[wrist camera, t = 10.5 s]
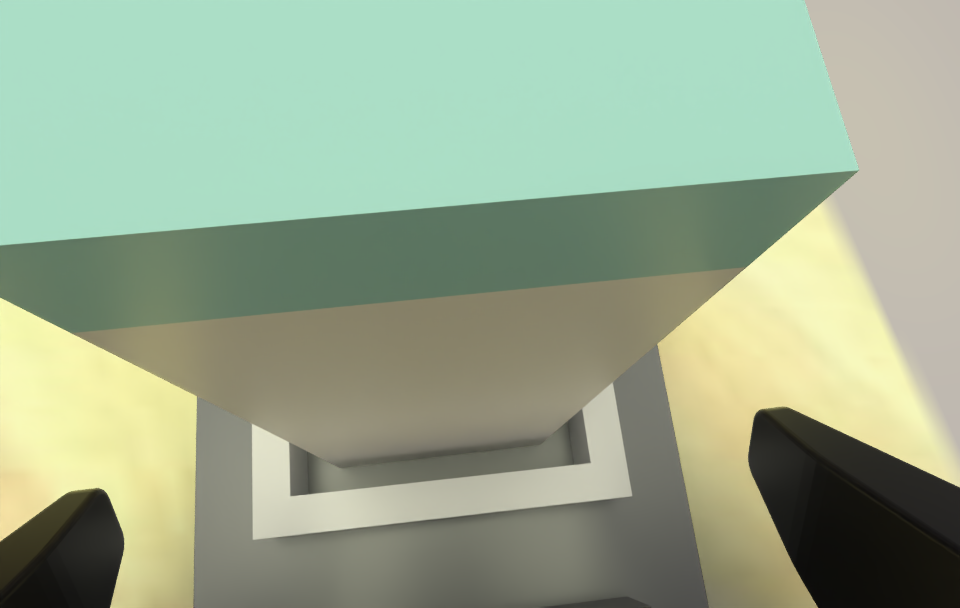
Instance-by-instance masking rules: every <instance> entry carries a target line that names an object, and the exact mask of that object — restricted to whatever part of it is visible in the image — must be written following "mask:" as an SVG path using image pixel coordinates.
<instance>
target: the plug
mask: <svg viewBox="0 0 960 608" xmlns="http://www.w3.org/2000/svg"><path fill="white" fill-rule="evenodd" d="M858 171H859V169H858V165H857V162H856V159H855V156H854V153H853V149H852V147H851V143H850V140H849V137H848V134H847V131H846V128H845V125H844V122H843V119H842V116H841V113H840V109H839V106H838V103H837V100H836V97H835V94H834V91H833V88H832V85H831V81H830V79H829V76H828V72H827V69H826V66H825V63H824V60H823V57H822V54H821V51H820V47H819V45H818V41H817V38H816V35H815V32H814V29H813V26H812V23H811V20H810V17H809V14H808V11H807V7H806V4H805V1H804V0H0V298H2V299H4V300H6V301H8V302H10V303H12V304H14V305H16V306H18V307H20V308H22V309H24V310H26V311H28V312H30V313H32V314H34V315H36V316H38V317H40V318H42V319H44V320H46V321H48V322H50V323H52V324H54V325H56V326H58V327H60V328H62V329H64V330H66V331H68V332H70V333H72V334H74V335H76V336H78V337H80V338H82V339H84V340H86V341H88V342H90V343H92V344H94V345H96V346H98V347H100V348H102V349H104V350H106V351H108V352H110V353H112V354H114V355H116V356H118V357H120V358H122V359H124V360H126V361H128V362H130V363H132V364H134V365H136V366H138V367H140V368H142V369H144V370H146V371H148V372H150V373H152V374H154V375H156V376H158V377H160V378H162V379H164V380H166V381H168V382H170V383H172V384H174V385H176V386H178V387H180V388H182V389H184V390H186V391H188V392H190V393H192V394H194V395H196V396H198V397H200V398H202V399H204V400H206V401H208V402H210V403H212V404H214V405H216V406H218V407H220V408H222V409H224V410H226V411H228V412H230V413H232V414H234V415H236V416H238V417H240V418H242V419H244V420H246V421H248V422H250V423H252V424H254V425H256V426H258V427H260V428H262V429H264V430H266V431H268V432H270V433H272V434H274V435H276V436H278V437H280V438H282V439H284V440H286V441H288V442H290V443H292V444H294V445H296V446H298V447H300V448H302V449H303V450H305V451H307V452H309V453H311V454H313V455H315V456H317V457H319V458H321V459H323V460H325V461H327V462H329V463H331V464H333V465H335V466H337V467H339V468H346V467H354V466H363V465H371V464H380V463H389V462H397V461H406V460H414V459H423V458H432V457H440V456H449V455H457V454H466V453H475V452H483V451H492V450H501V449H509V448H518V447H526V446H535V445H540V444H541V443H543V442H544V441H545V440H546V439H547V438H548V437H550V436H551V435H552V434H553V433H554V432H555V431H556V430H558V429H559V428H560V427H561V426H562V425H563V424H565V423H566V422H567V421H568V420H569V419H570V418H572V417H573V416H574V415H575V414H576V413H577V412H579V411H580V410H581V409H582V408H583V407H584V406H586V405H587V404H588V403H589V402H590V401H591V400H593V399H594V398H595V397H596V396H597V395H598V394H600V393H601V392H602V391H603V390H604V389H605V388H606V387H608V386H609V385H610V384H611V383H612V382H613V381H615V380H616V379H617V378H618V377H619V376H620V375H622V374H623V373H624V372H625V371H626V370H627V369H629V368H630V367H631V366H632V365H633V364H634V363H636V362H637V361H638V360H639V359H640V358H641V357H643V356H644V355H645V354H646V353H647V352H648V351H650V350H651V349H652V348H653V347H654V346H655V345H657V344H658V343H659V342H660V341H661V340H662V339H663V338H665V337H666V336H667V335H668V334H669V333H670V332H672V331H673V330H674V329H675V328H676V327H677V326H679V325H680V324H681V323H682V322H683V321H684V320H686V319H687V318H688V317H689V316H690V315H691V314H693V313H694V312H695V311H696V310H697V309H698V308H700V307H701V306H702V305H703V304H704V303H705V302H707V301H708V300H709V299H710V298H711V297H712V296H714V295H715V294H716V293H717V292H718V291H719V290H720V289H722V288H723V287H724V286H725V285H726V284H727V283H729V282H730V281H731V280H732V279H733V278H734V277H736V276H737V275H738V274H739V273H740V272H741V271H743V270H744V269H745V268H746V267H747V266H748V265H750V264H751V263H752V262H753V261H754V260H755V259H757V258H758V257H759V256H760V255H761V254H762V253H764V252H765V251H766V250H767V249H768V248H769V247H770V246H772V245H773V244H774V243H775V242H776V241H777V240H779V239H780V238H781V237H782V236H783V235H784V234H786V233H787V232H788V231H789V230H790V229H791V228H793V227H794V226H795V225H796V224H797V223H798V222H800V221H801V220H802V219H803V218H804V217H805V216H807V215H808V214H809V213H810V212H811V211H812V210H814V209H815V208H816V207H817V206H818V205H819V204H821V203H822V202H823V201H824V200H825V199H826V198H827V197H829V196H830V195H831V194H832V193H833V192H834V191H836V190H837V189H838V188H839V187H840V186H841V185H842V184H844V183H845V182H846V181H847V180H848V179H850V178H851V177H852V176H853V175H854V174H855V173H857V172H858Z"/></svg>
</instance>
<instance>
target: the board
mask: <svg viewBox="0 0 960 608" xmlns="http://www.w3.org/2000/svg"><path fill="white" fill-rule="evenodd" d="M193 608H709V606H708V601H707V596H706V591H705V586H704V581H703V576H702V571H701V566H700V560H699V555H698V550H697V545H696V540H695V535H694V530H693V525H692V520H691V515H690V509H689V504H688V499H687V494H686V489H685V484H684V479H683V474H682V469H681V464H680V458H679V453H678V448H677V443H676V438H675V433H674V428H673V423H672V418H671V412H670V407H669V402H668V397H667V392H666V387H665V382H664V377H663V372H662V367H661V361H660V356H659V351H658V346H657V345H655V346H654V347H653V348H652V349H651V350H650V351H648V352H647V353H646V354H645V355H644V356H643V357H641V358H640V359H639V360H638V361H637V362H636V363H634V364H633V365H632V366H631V367H630V368H629V369H627V370H626V371H625V372H624V373H623V374H622V375H620V376H619V377H618V378H617V379H616V380H615V381H613V382H612V383H611V384H610V385H609V386H608V387H606V388H605V389H604V390H603V391H602V392H601V393H600V394H598V395H597V396H596V397H595V398H594V399H593V400H591V401H590V402H589V403H588V404H587V405H586V406H584V407H583V408H582V409H581V410H580V411H579V412H577V413H576V414H575V415H574V416H573V417H572V418H570V419H569V420H568V421H567V422H566V423H565V424H563V425H562V426H561V427H560V428H559V429H558V430H556V431H555V432H554V433H553V434H552V435H551V436H550V437H548V438H547V439H546V440H545V441H544V442H543V443H541V444H540V445H535V446H526V447H518V448H509V449H501V450H492V451H483V452H475V453H466V454H457V455H449V456H440V457H432V458H423V459H414V460H406V461H397V462H389V463H380V464H371V465H363V466H354V467H346V468H339V467H337V466H335V465H333V464H331V463H329V462H327V461H325V460H323V459H321V458H319V457H317V456H315V455H313V454H311V453H309V452H307V451H305V450H303V449H302V448H300V447H298V446H296V445H294V444H292V443H290V442H288V441H286V440H284V439H282V438H280V437H278V436H276V435H274V434H272V433H270V432H268V431H266V430H264V429H262V428H260V427H258V426H256V425H254V424H252V423H250V422H248V421H246V420H244V419H242V418H240V417H238V416H236V415H234V414H232V413H230V412H228V411H226V410H224V409H222V408H220V407H218V406H216V405H214V404H212V403H210V402H208V401H206V400H204V399H202V398H200V397H198V396H197V433H196V491H195V549H194V607H193Z"/></svg>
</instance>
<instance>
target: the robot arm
mask: <svg viewBox="0 0 960 608" xmlns="http://www.w3.org/2000/svg"><path fill="white" fill-rule="evenodd" d="M748 462H749V467H750V470H751V473H752V475H753V478H754V480H755V482H756V484H757V486H758V489H759V491H760V493H761V495H762V497H763V500H764V502H765V504H766V506H767V508H768V511H769V513H770V515H771V517H772V519H773V522H774V524H775V526H776V528H777V530H778V533H779V535H780V537H781V539H782V541H783V544H784V546H785V548H786V550H787V552H788V554H789V556H790V558H791V561H792V563H793V565H794V567H795V568H796V570H797V572H798V574H799V576H800V577H801V579H802V581H803V583H804V584H805V586H806V588H807V589H808V591H809V593H810V595H811V596H812V598H813V600H814V601H815V603H816V605H817V606H818V608H960V487H957V486H955V485H953V484H951V483H949V482H947V481H945V480H942V479H940V478H938V477H936V476H934V475H932V474H930V473H927V472H925V471H923V470H921V469H919V468H917V467H915V466H913V465H910V464H908V463H906V462H904V461H902V460H900V459H898V458H895V457H893V456H891V455H889V454H887V453H885V452H883V451H880V450H878V449H876V448H874V447H872V446H870V445H868V444H865V443H863V442H861V441H859V440H857V439H855V438H853V437H850V436H848V435H846V434H844V433H842V432H840V431H838V430H835V429H833V428H831V427H829V426H827V425H825V424H823V423H820V422H818V421H816V420H814V419H812V418H810V417H808V416H805V415H803V414H801V413H799V412H797V411H795V410H793V409H790V408H788V407H776V408H768V409H761V410H759V411H758V412H757V413H756V414H755V417H754V420H753V427H752V433H751V440H750V446H749V453H748ZM123 551H124V536H123V532H122V529H121V527H120V524H119V522H118V519H117V517H116V514H115V511H114V509H113V506H112V504H111V501H110V499H109V497H108V495H107V493H106V492H105V491H104V490H102V489H99V488H94V489H86V490H77V491H71V492H69V493H66V494H65V495H63V496H62V497H61V498H59V499H58V500H57V501H55V502H54V503H52V504H51V505H50V506H48V507H47V508H46V509H44V510H43V511H42V512H40V513H39V514H37V515H36V516H35V517H33V518H32V519H31V520H29V521H28V522H26V523H25V524H24V525H22V526H21V527H20V528H18V529H17V530H15V531H14V532H13V533H11V534H10V535H9V536H7V537H6V538H4V539H3V540H2V541H0V608H110V605H111V601H112V597H113V593H114V589H115V585H116V580H117V576H118V572H119V568H120V564H121V560H122V556H123Z"/></svg>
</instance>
